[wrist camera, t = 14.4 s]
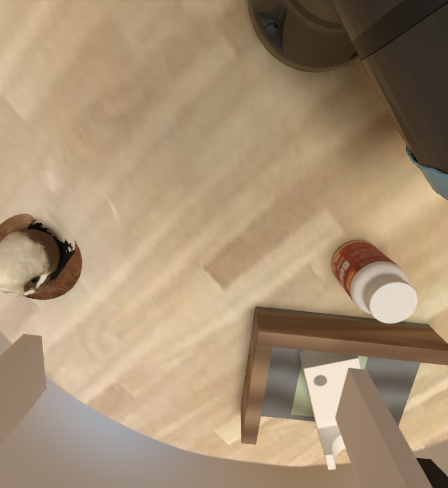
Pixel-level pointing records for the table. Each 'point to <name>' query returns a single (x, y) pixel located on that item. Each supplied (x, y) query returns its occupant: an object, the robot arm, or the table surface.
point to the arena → (329, 341)
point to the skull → (35, 260)
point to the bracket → (327, 395)
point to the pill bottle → (374, 282)
